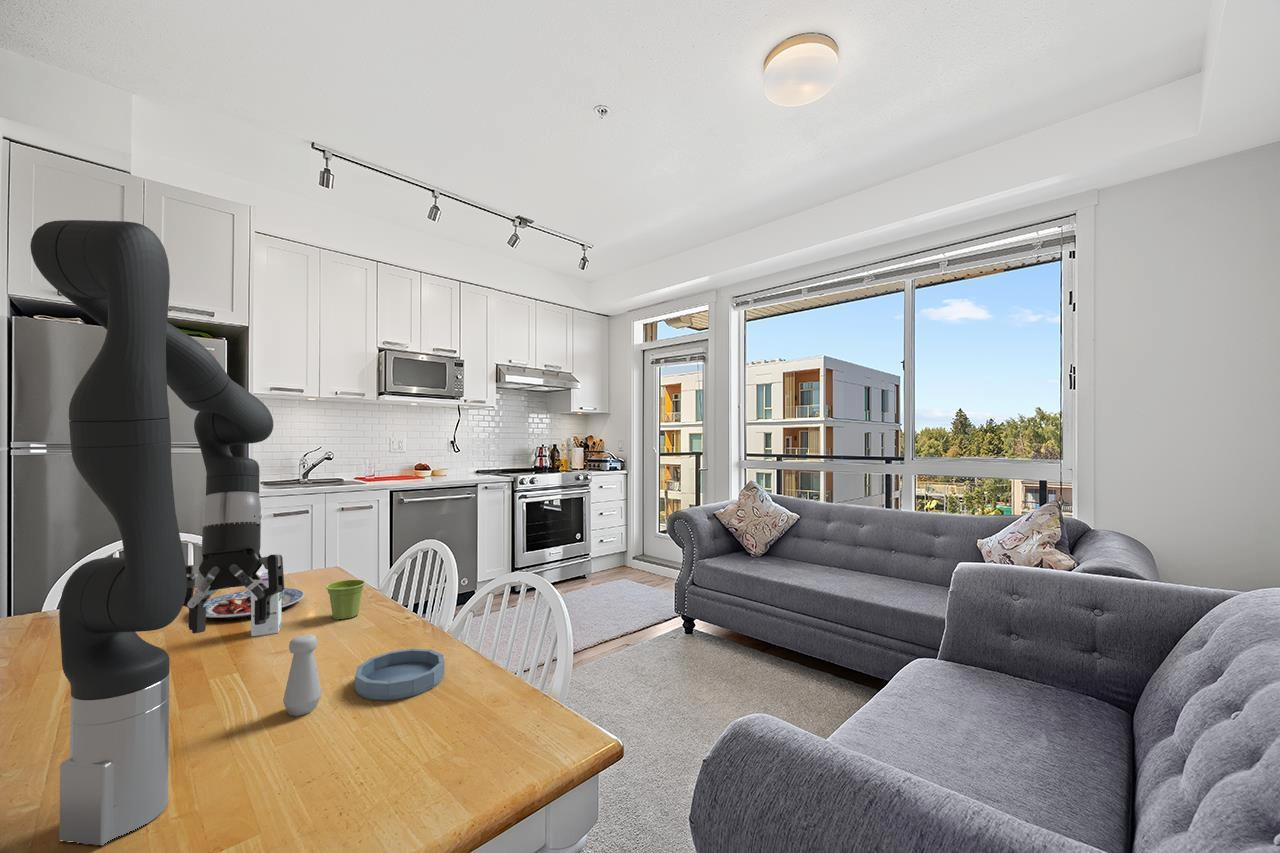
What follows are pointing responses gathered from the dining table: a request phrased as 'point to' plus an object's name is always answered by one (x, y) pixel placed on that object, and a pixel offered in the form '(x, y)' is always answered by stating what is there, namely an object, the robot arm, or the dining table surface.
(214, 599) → the ceramic plate
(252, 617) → the syrup box
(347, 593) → the plant pot
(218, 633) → the dining table surface
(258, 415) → the robot arm
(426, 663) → the bowl
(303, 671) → the salt shaker
